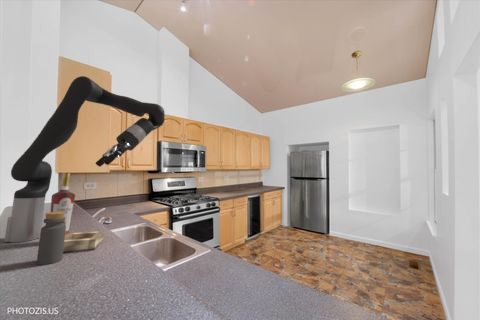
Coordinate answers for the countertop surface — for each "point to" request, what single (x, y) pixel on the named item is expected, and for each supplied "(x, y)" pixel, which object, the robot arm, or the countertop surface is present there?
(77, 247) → the wooden tray
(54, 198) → the liquor
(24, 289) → the countertop surface
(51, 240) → the bottle
